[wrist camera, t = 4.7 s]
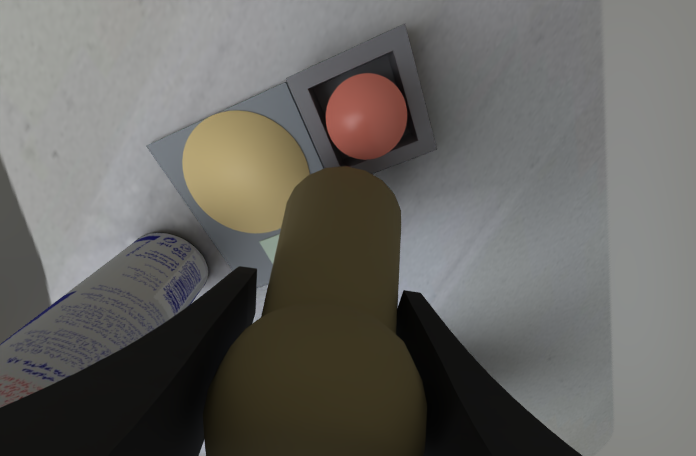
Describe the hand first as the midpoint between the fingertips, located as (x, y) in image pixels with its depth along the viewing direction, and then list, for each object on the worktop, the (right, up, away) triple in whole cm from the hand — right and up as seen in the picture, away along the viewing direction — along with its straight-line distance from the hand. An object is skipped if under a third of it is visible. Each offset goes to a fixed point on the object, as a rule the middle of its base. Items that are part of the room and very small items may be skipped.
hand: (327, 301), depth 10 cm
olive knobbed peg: (0, +3, +5) cm, 6 cm away
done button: (+2, +9, +5) cm, 10 cm away
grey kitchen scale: (-5, +4, +10) cm, 12 cm away
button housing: (+2, +10, +7) cm, 12 cm away
